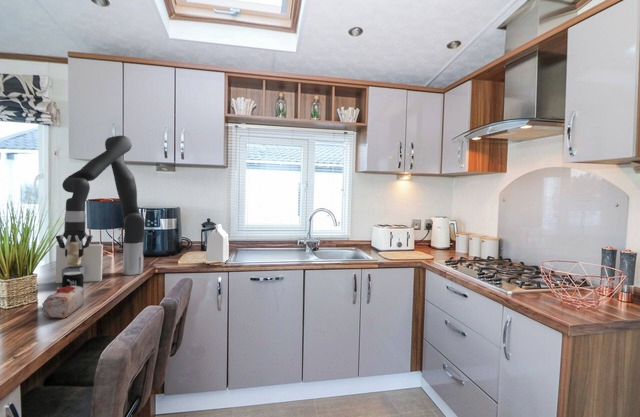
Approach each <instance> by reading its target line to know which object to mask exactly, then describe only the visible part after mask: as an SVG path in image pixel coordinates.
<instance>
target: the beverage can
mask: <svg viewBox="0 0 640 417" xmlns="http://www.w3.org/2000/svg"><path fill="white" fill-rule="evenodd" d="M83 281H84V275H83V274H82V271H71V272H66V273H64V276H63V277H62V283H61V288H63V287H66V286H80V287H82V288H84V282H83Z"/></svg>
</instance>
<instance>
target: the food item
mask: <svg viewBox="0 0 640 417" xmlns="http://www.w3.org/2000/svg"><path fill="white" fill-rule="evenodd" d="M84 292H85V289H84V287H83V288H82V287H80V286H66V287H63V288H62V287H59V286H57V287H56V293H54V294H50V295H49V296H47V297H46V298H45V300H44V301H43V302H42V309H41V311H42V312H41V314H42V317H43V318H45V317H46V318H47V319H54V318H61V319H66V318H65V317H67V318H68V317H69V316H70V315H72V314H73V313H74V312H76V311H77V310H78V309H80V308H81V307H83V306H84V305H85V293H84Z"/></svg>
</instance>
